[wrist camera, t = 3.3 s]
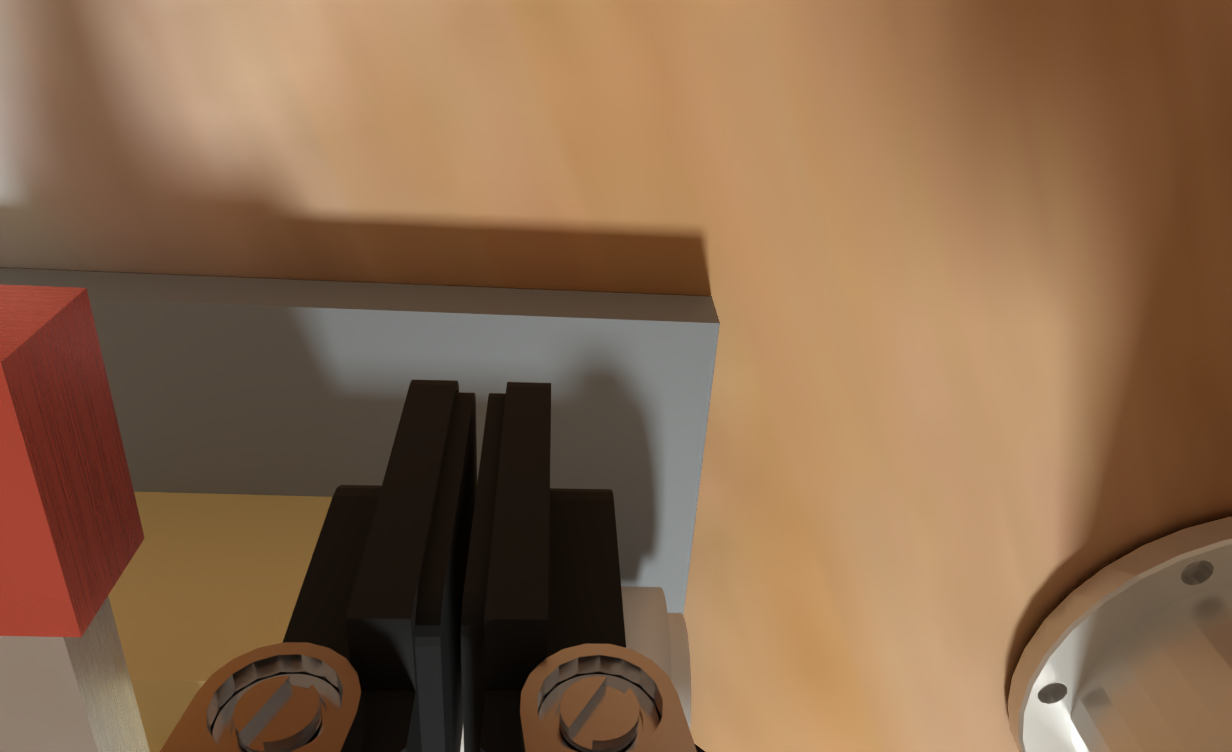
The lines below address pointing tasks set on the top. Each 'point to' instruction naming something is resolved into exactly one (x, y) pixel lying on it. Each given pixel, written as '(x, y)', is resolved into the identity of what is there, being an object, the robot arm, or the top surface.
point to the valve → (370, 439)
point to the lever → (61, 532)
